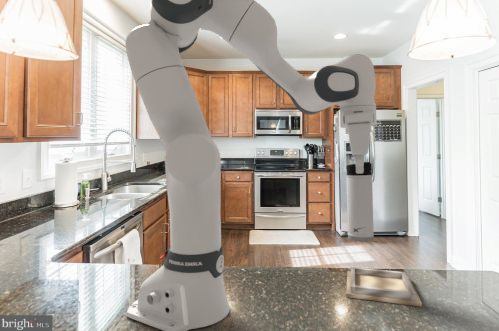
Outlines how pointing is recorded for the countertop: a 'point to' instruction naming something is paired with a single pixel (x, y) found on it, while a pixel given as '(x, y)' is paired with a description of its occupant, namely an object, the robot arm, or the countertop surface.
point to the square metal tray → (381, 286)
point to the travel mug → (360, 203)
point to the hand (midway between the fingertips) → (359, 172)
